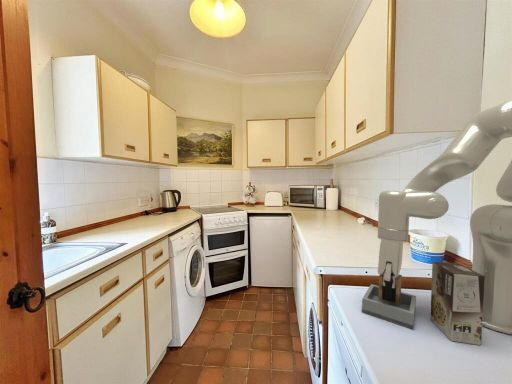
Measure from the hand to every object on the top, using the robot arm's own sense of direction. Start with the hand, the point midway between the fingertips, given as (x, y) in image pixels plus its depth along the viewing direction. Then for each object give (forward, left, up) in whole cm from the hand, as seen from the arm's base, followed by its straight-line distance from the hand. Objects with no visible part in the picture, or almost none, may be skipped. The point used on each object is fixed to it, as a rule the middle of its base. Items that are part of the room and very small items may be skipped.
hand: (390, 295), depth 65 cm
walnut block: (0, 0, -1) cm, 1 cm away
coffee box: (-14, 0, -5) cm, 15 cm away
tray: (0, 0, -4) cm, 4 cm away
